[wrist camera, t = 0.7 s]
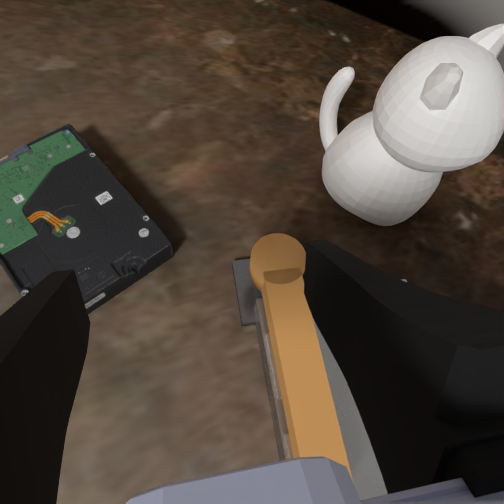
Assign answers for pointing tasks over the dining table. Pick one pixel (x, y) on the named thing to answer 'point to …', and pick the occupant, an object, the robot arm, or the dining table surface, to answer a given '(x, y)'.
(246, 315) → the grey flat piece
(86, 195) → the disk drive
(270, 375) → the chassis
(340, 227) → the dining table surface
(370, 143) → the cat figurine
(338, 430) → the swing arm
